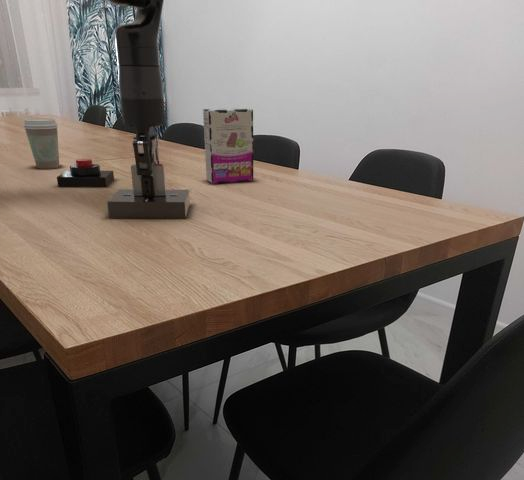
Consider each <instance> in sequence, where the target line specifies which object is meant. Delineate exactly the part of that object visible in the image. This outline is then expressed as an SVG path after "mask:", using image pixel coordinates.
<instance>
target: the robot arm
mask: <svg viewBox="0 0 524 480" xmlns="http://www.w3.org/2000/svg"><path fill="white" fill-rule="evenodd" d="M164 1H165V0H107V2H108V3H111V4H112V5H116V6H121V7H131V8H132V7H133V8H136V13H135V16H134V20H133V21H132V22H129V23H125V24H121V25H119V26H117V27H116V28H115V32H114V37H115V38H114V40H115V41H114V42H115V50H116V59H117V60H116V61H117V70H118V71H117V78H118V79H117V82H118V91H119V97H120V98H119V101H120V109H121V117H122V124H123V125H124V126H126V127H134V128H135V136H133V138H132V139H133V140H132V147H133V153H134V154H133V155H134V160H135V161H134V162H135V164H136V169H137V171H136V172H137V175H139V177H141V186H142V196H143V198H154V196H155V191H154V179H153V175H154V172H153V165H154V164H157V163H160V153H159V135H158V132H155V129H154V127H155V128H156V127H162V126H164V125H165V124H166V109H165V96H164V82H163V76H162V70H161V64H160V63H161V61H160V49H159V47H160V46H159V34H160V27H161V21H162V20H161V19H162V13H163V9H164V8H163V7H164ZM143 164H147V167H148V168H142V165H143Z"/></svg>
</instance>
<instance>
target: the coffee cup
mask: <svg viewBox="0 0 524 480" xmlns="http://www.w3.org/2000/svg"><path fill="white" fill-rule="evenodd" d="M58 128H59V126H58V123H57V121H56V120H55V119H54V118H46V117H45V118H43V117H41V118H26V119H24V121H23V129H24V130H25V133H26V137H27V140H28V143H29V146H30V149H31V150H30V151H31V153H32V156H33V159H34V162H35V166H36V168H37V169H39V170H53V169H59V168H60V153H59V137H58Z"/></svg>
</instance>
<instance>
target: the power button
mask: <svg viewBox="0 0 524 480" xmlns="http://www.w3.org/2000/svg"><path fill="white" fill-rule="evenodd" d="M75 164H76V165H77V167H91V166H93V164H94V163H93V159H92V158H85V157H84V158H77V159H75Z"/></svg>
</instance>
